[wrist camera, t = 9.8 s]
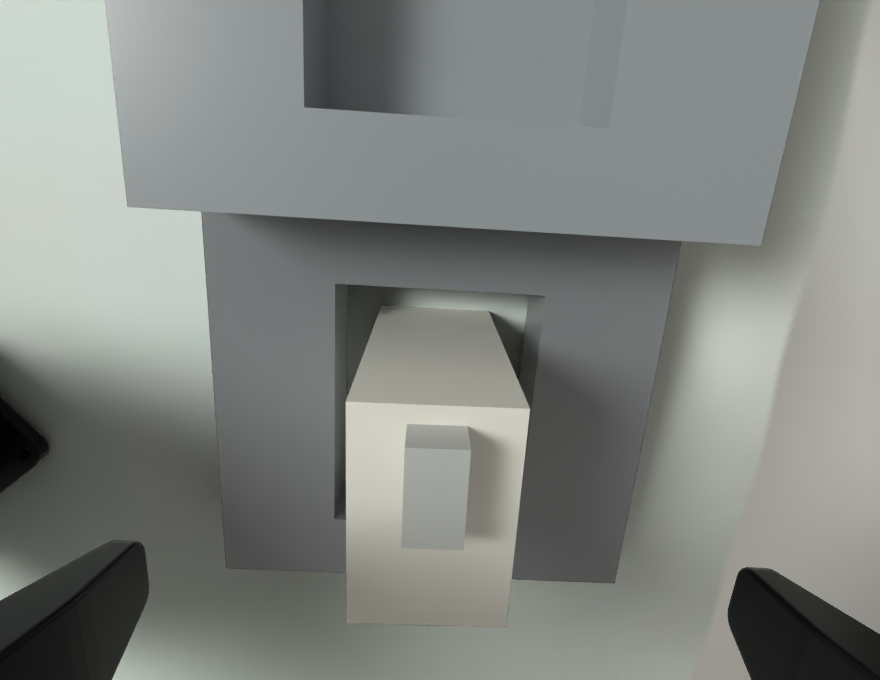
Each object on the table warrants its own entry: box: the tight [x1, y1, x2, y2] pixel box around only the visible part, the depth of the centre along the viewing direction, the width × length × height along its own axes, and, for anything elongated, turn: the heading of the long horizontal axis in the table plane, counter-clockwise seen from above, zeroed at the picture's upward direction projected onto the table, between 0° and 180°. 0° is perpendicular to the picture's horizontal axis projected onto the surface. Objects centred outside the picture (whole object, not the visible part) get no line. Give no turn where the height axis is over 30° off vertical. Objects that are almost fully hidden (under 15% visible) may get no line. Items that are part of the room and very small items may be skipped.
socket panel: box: [105, 0, 820, 583], centre depth 12 cm, size 20×11×5 cm, turn 176°
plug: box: [346, 306, 530, 627], centre depth 12 cm, size 4×3×7 cm, turn 177°
